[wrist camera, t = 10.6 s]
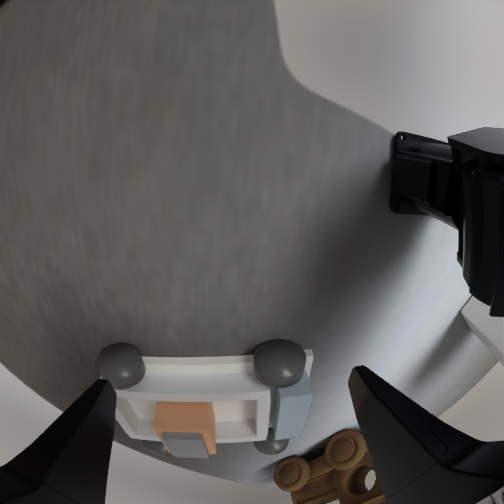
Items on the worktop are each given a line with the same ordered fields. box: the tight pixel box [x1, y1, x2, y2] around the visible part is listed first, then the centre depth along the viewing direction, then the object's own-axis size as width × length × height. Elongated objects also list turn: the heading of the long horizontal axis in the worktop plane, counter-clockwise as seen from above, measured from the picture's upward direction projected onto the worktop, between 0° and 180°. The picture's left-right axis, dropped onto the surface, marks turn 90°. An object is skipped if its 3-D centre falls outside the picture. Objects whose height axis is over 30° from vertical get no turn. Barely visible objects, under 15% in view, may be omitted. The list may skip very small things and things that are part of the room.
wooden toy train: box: [274, 429, 386, 504], centre depth 28 cm, size 20×11×17 cm, turn 134°
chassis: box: [96, 339, 314, 456], centre depth 24 cm, size 21×16×4 cm
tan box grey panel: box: [153, 401, 216, 458], centre depth 22 cm, size 5×6×6 cm
